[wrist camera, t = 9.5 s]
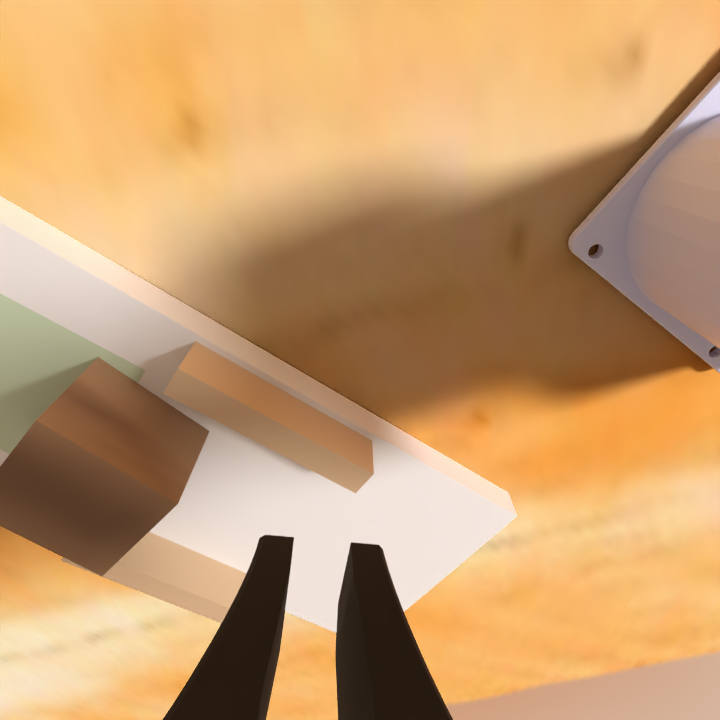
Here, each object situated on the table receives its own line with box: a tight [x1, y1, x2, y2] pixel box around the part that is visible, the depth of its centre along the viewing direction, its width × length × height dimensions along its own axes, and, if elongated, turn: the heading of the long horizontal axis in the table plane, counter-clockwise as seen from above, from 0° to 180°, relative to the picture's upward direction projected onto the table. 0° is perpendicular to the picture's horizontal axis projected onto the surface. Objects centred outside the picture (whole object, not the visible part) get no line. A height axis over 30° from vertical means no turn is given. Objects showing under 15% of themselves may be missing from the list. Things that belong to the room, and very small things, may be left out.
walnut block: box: [0, 357, 209, 576], centre depth 18 cm, size 5×5×4 cm
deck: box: [0, 196, 517, 633], centre depth 20 cm, size 32×12×4 cm, turn 55°
